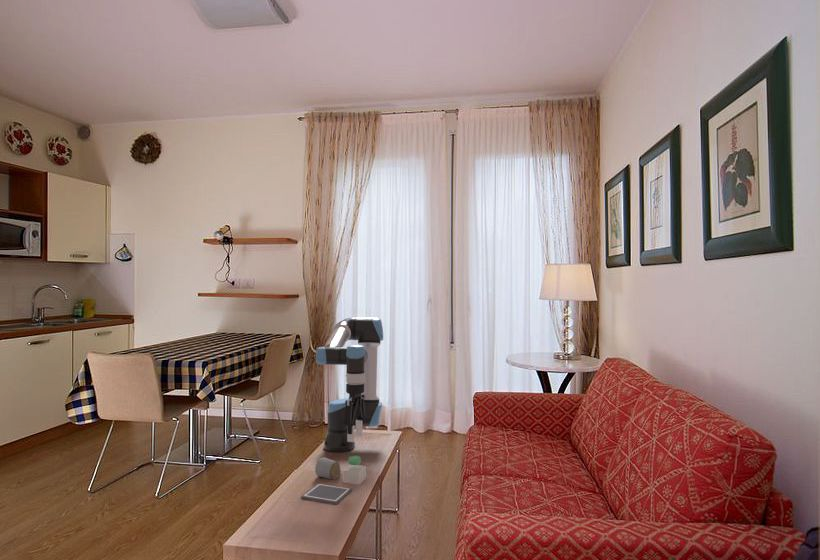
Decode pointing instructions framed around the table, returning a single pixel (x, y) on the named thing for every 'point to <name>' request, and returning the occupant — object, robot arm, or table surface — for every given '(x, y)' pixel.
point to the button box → (354, 474)
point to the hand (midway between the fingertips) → (354, 438)
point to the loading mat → (327, 493)
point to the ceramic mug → (327, 468)
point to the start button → (354, 460)
